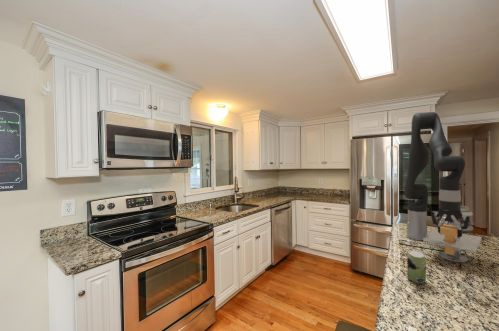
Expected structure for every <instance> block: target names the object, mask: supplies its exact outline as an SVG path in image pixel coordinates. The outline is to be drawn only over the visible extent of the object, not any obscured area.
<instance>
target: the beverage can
mask: <svg viewBox="0 0 499 331" xmlns="http://www.w3.org/2000/svg"><path fill="white" fill-rule="evenodd" d="M406 256H407V258H406V261H407V262H406V263H407V267H406V268H407V270H406V275H407V279H409V280H410V281H411V280H412V281H411V282H413V281H414V282H413V283H415V282H417V283H416V284H423V283H425V282H426V279H427V257H426V256H425V254H424V253H423V252H421V251H419V250H410V251H409V252H408V254H407V255H406Z"/></svg>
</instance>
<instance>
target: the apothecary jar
mask: <svg viewBox="0 0 499 331" xmlns="http://www.w3.org/2000/svg"><path fill="white" fill-rule="evenodd" d="M461 213H462V215H466V216H468V215H469V216H470V217H471V218H472V217H473V216H474V213H473V212H472V211H471V209H470V207H468V206H465V205H461ZM459 221H460V224H461V226H464V223H465V220H464V219H463V217H461V218H460V219H459ZM446 225H452V226H456V225H455V223H454V222H450V221H447V223H446ZM473 231H474V227H473V225H472V224H471V220H470V221H469V225H468V228H467V229H463V230H462V234H467V233H471V232H473Z"/></svg>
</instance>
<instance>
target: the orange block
mask: <svg viewBox="0 0 499 331" xmlns="http://www.w3.org/2000/svg"><path fill="white" fill-rule="evenodd" d="M440 234H443V235H445V241H447V242H452V243H455V237H457V236H458V228H457V226H452V225H447V224H444V223H443V224H442V226H441V227H440ZM444 252H445V253H446V254H450V255H454V253H455V247H451V246H446V245H444Z"/></svg>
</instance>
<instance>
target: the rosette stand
mask: <svg viewBox="0 0 499 331" xmlns="http://www.w3.org/2000/svg"><path fill="white" fill-rule="evenodd" d="M481 241H482V236H478V235H473V234H467V233H465V234H462V236H461V237H460V238H457V237H455V243H452V242H447V241H445V235H443V234H442V235H441V234H440V233H438V228H432V229H431V230H430V231H429V232H427V235H426V236H425V237H424V238H423V241H422V242H427V243H433V244H437V245H442V246H445V245H446V246H451V247H455V253H454V255H450V254H446V253H445V251H442V252H439V256H440V258H441V259H443V260H445V261H448V262H451V263H458V264H466V263H468V261H469V259H468V257H466V256H465V255H462V254H461V250H465V251H470V252H475V253H476V252H477V251H478V248H479V246H480V244H481Z"/></svg>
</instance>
